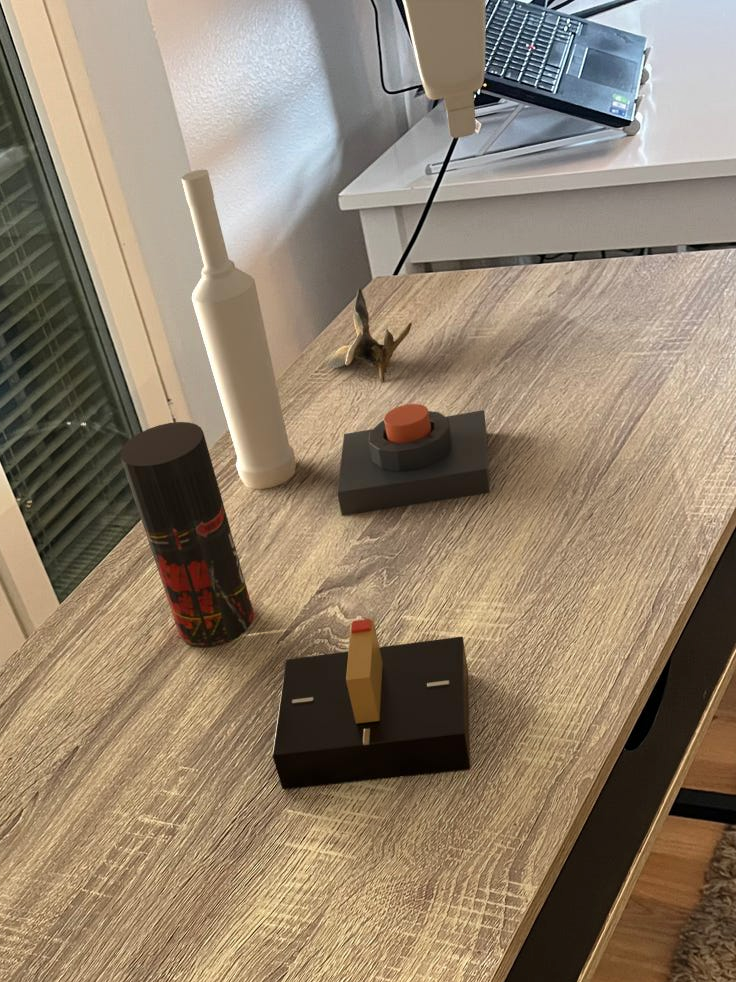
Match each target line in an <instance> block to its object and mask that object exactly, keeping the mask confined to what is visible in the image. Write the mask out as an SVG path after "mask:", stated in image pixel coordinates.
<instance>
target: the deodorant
mask: <svg viewBox="0 0 736 982" xmlns="http://www.w3.org/2000/svg"><path fill="white" fill-rule="evenodd" d="M119 457H120V459H121V463H122V465H123V469H124V472H125V475H126V478H127V481H128V484H129V487H130V490H131V492H132V497H133V499H134V502H135V505H136V508H137V510H138V514H139V517H140V520H141V523H142V526H143V530H144V532H145V535H146V538H147V542H148V544H149V547H150V551H151V553H152V556H153V560H154V563H155V565H156V568H157V571H158V574H159V577H160V581H161V584H162V587H163V589H164V593H165V595H166V598H167V602H168V604H169V608H170V611H171V613H172V617H173V620H174V623H175V627H176V628H177V632H178V635H179V637H180V639H181V640H182V641H183V642H184V643H185V644H188V645H189V646H192V647H196V648H197V647H198V648H211V647H217V646H221V645H223V644H227V643H230V642H232V641H234V640H235V639H238V638H239V637H241V636H242V634H244V633H245V632H246V631H247V630H248V629H249V627H251V625H252V623H253V621H254V618H255V613H254V608H253V605H252V601H251V598H250V595H249V591H248V586H247V583H246V581H245V576H244V573H243V569H242V566H241V562H240V558H239V554H238V552H237V548H236V544H235V540H234V537H233V533H232V530H231V526H230V523H229V520H228V519H229V518H228V516H227V512H226V509H225V505H224V501H223V497H222V494H221V490H220V488H219V483H218V480H217V476H216V472H215V469H214V465H213V461H212V458H211V455H210V451H209V448H208V444H207V441H206V436H205V433H204V431H203V429H202V427H201V426H199V425H198V424H196V423H193V422H187V421H175V422H168V423H163V424H159V425H155V426H153V427H150V428H147V429H145V430H143V431H141V432H139V433H137V434H136V435H134V436H133V437H131V438H130V439H129V440H128V441H127V442H125V443H124V445H123V446H122V447H121V449H120V453H119Z"/></svg>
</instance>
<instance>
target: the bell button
mask: <svg viewBox="0 0 736 982" xmlns="http://www.w3.org/2000/svg"><path fill="white" fill-rule="evenodd" d="M429 411H430V410H429V408H428V407H427V406H425V405H423V404H419V403H409V404H403V405H400V406H397V407H395V408H393V409H391V410H389V411H388V412H387V413H386V414H385V415H384V418H383V420H384V422H385V428H386V434H387V439H388V441H389V442H390V443H399V444H402V443H408V442H414V441H417V440H419V439H422V438H424V437H426V436H428V435H429V434H430V433H431V425H430V418H429Z"/></svg>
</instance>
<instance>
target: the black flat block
mask: <svg viewBox="0 0 736 982" xmlns="http://www.w3.org/2000/svg"><path fill="white" fill-rule="evenodd" d="M464 641H465V640H464V637H463V636H455V637H447V638H440V639H432V640H424V641H416V642H409V643H401V644H394V645H386V646H379V649H380V653H381V658H382V663H383V664H382V683H381V701H380V720H379V721H375V722H366V723H358V724H356V721H355V717H354V713H353V708H352V704H351V700H350V695H349V691H348V687H347V682H346V674H347V663H348V651H349V650H348V651H347V650H346V651H341V652H340V651H339V652H332V653H326V654H317V655H310V656H303V657H302V656H301V657H293V658H287V659H285V665H284V671H283V678H282V679H283V680H282V685H281V691H280V692H281V693H280V698H279V699H280V700H279V707H278V713H277V719H276V726H275V735H274V740H273V748H272V755H271V756H272V758H273V763H274V765H275V768H276V773H277V776H278V779H279V783H280V786H281V789H282V790H289V789H300V788H307V787H318V786H328V785H337V784H346V783H355V782H365V781H374V780H383V779H382V778H384V779H392V778H391V777H394V778H401V777H400V776H403V777H411V776H420V775H419V774H422V775H430V774H431V775H432V774H439V773H448V772H458V771H467V770H471V746H470V745H471V744H470V743H471V742H470V741H471V740H470V696H469V695H470V694H469V668H468V661H467V655H466V648H465V642H464Z"/></svg>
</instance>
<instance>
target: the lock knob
mask: <svg viewBox="0 0 736 982" xmlns="http://www.w3.org/2000/svg"><path fill="white" fill-rule="evenodd" d="M348 639H349V642H348V663H347V674H346V682H347V687H348V691H349V695H350V700H351V704H352V708H353V713H354V717H355V721H356V724H358V723H366V722H375V721H379V720H380V701H381V683H382V664H383V663H382V658H381V653H380V649H379V647H380V644H379V639H378V635H377V629H376V623H375V621H374V620H373V619H371V618H367V619H359V620H352V622H351V623H350V628H349V638H348Z"/></svg>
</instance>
